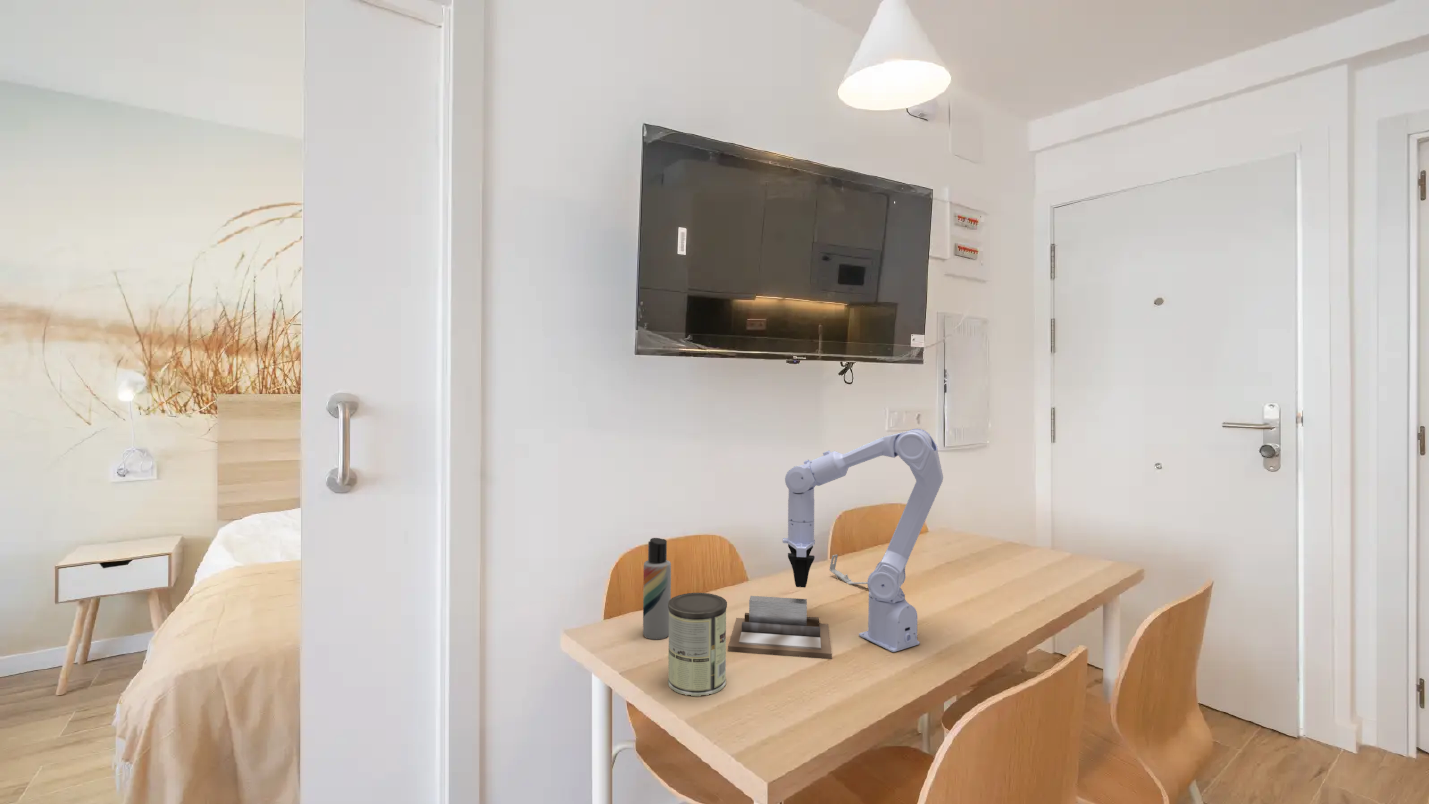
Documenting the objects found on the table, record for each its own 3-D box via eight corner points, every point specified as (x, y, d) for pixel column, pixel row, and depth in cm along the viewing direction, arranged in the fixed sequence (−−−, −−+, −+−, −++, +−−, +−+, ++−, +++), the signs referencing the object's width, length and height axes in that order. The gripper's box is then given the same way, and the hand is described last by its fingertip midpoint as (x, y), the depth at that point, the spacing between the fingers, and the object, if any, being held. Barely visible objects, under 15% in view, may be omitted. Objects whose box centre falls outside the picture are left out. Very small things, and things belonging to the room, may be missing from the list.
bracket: (871, 582, 152) (832, 555, 164) (867, 602, 153) (828, 574, 165) (876, 581, 153) (837, 554, 165) (872, 601, 154) (833, 573, 166)
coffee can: (668, 668, 109) (669, 592, 109) (724, 668, 109) (725, 592, 109) (665, 697, 98) (666, 612, 98) (727, 697, 99) (728, 612, 99)
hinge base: (828, 628, 128) (828, 614, 128) (831, 658, 113) (831, 643, 113) (736, 622, 131) (736, 608, 131) (728, 651, 116) (728, 636, 116)
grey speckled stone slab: (806, 627, 126) (806, 599, 126) (806, 632, 123) (806, 604, 123) (750, 623, 128) (750, 595, 128) (748, 628, 125) (749, 600, 125)
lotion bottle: (656, 626, 128) (657, 534, 128) (675, 633, 124) (676, 539, 124) (637, 635, 124) (638, 539, 123) (656, 642, 120) (657, 544, 120)
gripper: (783, 512, 138) (782, 570, 139) (782, 526, 124) (781, 591, 124) (813, 513, 137) (813, 572, 138) (816, 527, 123) (815, 592, 123)
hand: (800, 581), depth 131 cm, fingers open, 7 cm apart
